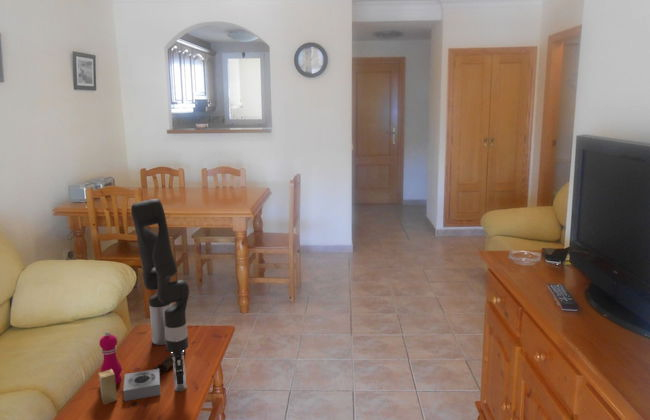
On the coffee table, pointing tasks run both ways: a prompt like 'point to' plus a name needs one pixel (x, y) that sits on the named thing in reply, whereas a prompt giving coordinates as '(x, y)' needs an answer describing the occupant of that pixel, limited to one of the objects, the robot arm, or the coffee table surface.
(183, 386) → the round bit
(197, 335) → the coffee table surface
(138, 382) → the bore block
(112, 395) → the pale wooden block
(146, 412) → the coffee table surface
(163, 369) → the hand tool
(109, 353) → the pepper mill
